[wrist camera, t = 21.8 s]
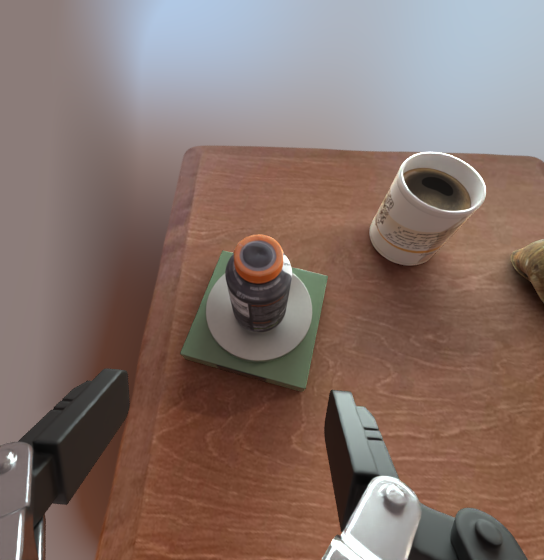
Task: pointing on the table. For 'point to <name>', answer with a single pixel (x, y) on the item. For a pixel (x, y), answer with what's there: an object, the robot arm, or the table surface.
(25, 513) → the robot arm
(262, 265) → the pill bottle
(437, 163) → the mug
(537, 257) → the seashell
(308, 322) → the scale
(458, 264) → the table surface
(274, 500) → the table surface
